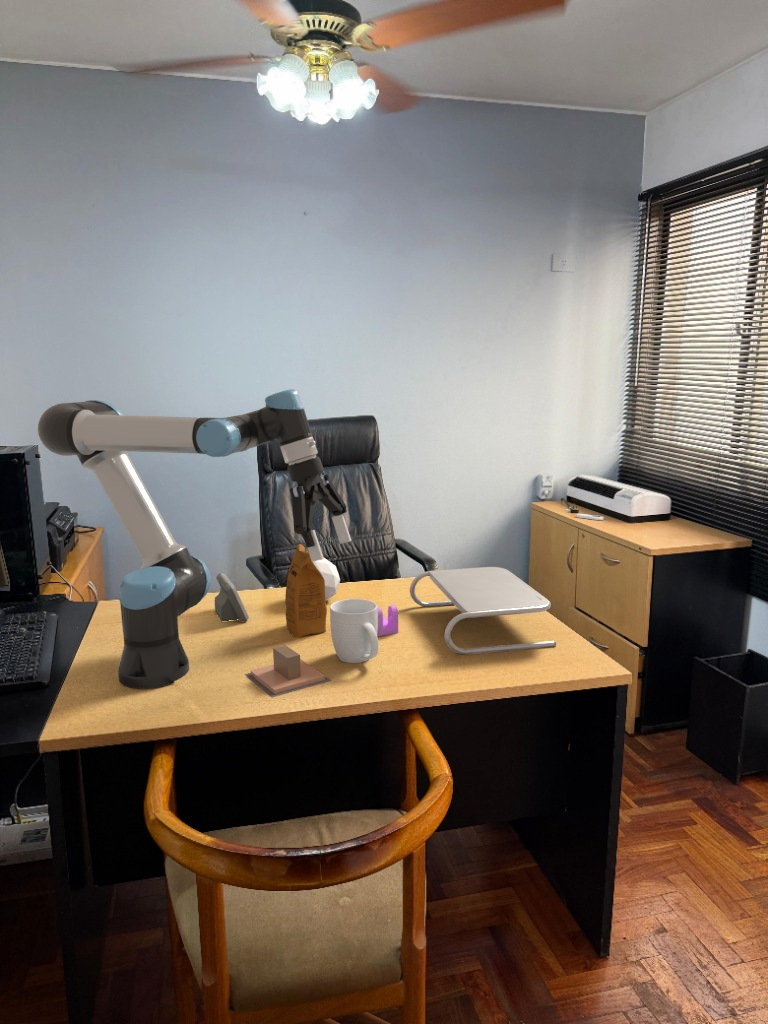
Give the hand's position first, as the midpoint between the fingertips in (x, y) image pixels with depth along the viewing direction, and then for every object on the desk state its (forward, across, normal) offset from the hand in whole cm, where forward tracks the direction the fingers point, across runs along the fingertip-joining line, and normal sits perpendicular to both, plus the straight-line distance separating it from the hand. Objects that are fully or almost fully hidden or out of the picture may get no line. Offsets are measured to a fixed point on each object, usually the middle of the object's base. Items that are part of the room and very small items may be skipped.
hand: (332, 551), depth 161 cm
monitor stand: (+35, +34, -14) cm, 51 cm away
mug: (+27, +2, +4) cm, 27 cm away
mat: (+23, -14, +13) cm, 30 cm away
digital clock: (+15, +17, +48) cm, 53 cm away
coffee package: (+22, +15, +24) cm, 36 cm away
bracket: (+27, +24, +9) cm, 38 cm away
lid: (+23, -14, +13) cm, 29 cm away
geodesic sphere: (+21, +37, +33) cm, 54 cm away
